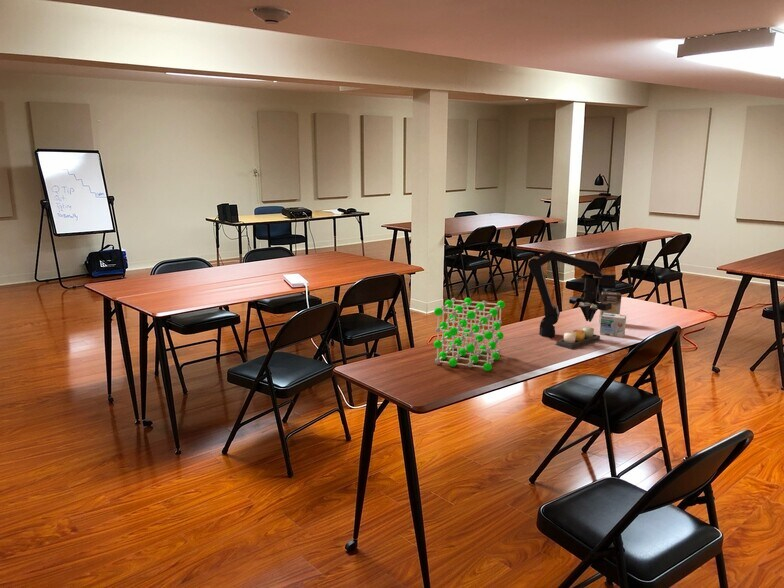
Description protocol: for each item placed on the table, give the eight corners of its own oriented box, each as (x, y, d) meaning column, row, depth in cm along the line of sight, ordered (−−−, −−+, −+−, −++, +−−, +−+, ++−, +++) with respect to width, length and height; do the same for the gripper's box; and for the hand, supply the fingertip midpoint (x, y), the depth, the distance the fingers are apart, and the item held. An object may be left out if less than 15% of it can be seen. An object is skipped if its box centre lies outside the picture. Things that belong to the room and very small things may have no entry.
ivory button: (561, 341, 268) (561, 333, 267) (567, 339, 271) (568, 331, 270) (570, 344, 264) (571, 336, 263) (577, 342, 267) (578, 334, 266)
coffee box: (599, 324, 306) (602, 293, 302) (598, 321, 312) (601, 291, 308) (619, 325, 303) (621, 294, 300) (617, 322, 310) (620, 292, 306)
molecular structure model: (503, 354, 260) (506, 299, 255) (490, 373, 238) (492, 313, 232) (449, 347, 269) (451, 295, 264) (432, 365, 247) (433, 308, 241)
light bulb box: (598, 337, 284) (600, 315, 282) (601, 333, 290) (603, 312, 288) (622, 340, 279) (624, 318, 277) (624, 336, 285) (626, 314, 283)
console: (553, 347, 269) (553, 340, 268) (583, 338, 283) (583, 331, 282) (572, 353, 261) (573, 345, 261) (602, 343, 275) (602, 336, 275)
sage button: (579, 335, 276) (580, 328, 275) (586, 333, 279) (586, 326, 278) (589, 338, 272) (589, 330, 272) (595, 336, 275) (596, 328, 275)
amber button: (570, 338, 272) (571, 331, 271) (577, 336, 275) (577, 329, 274) (580, 341, 268) (580, 333, 267) (586, 339, 271) (587, 331, 270)
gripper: (619, 289, 269) (617, 322, 272) (583, 282, 283) (581, 314, 286) (605, 292, 262) (603, 326, 265) (569, 285, 276) (567, 318, 279)
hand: (588, 321), depth 274 cm, fingers closed
